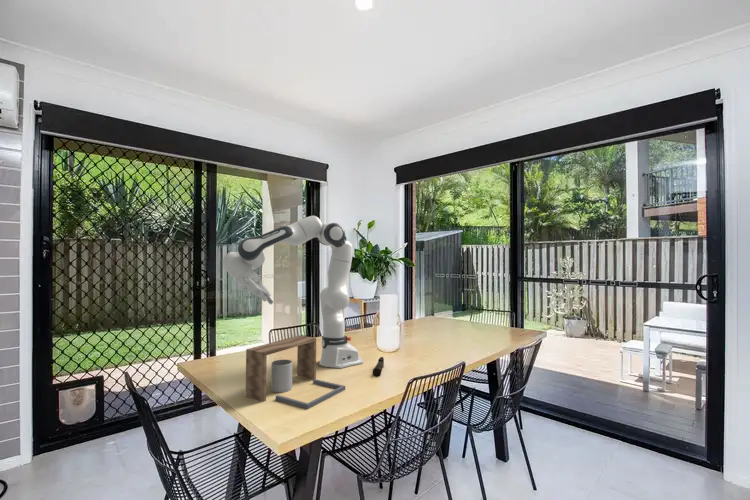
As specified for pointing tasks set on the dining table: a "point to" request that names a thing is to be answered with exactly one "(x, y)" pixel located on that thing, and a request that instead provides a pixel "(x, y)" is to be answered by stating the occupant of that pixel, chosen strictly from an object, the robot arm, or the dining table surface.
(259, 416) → the dining table surface
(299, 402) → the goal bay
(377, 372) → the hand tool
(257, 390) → the wooden bridge arch
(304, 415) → the dining table surface
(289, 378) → the mug
